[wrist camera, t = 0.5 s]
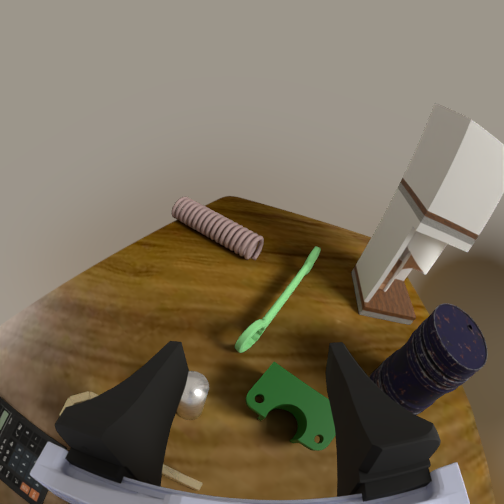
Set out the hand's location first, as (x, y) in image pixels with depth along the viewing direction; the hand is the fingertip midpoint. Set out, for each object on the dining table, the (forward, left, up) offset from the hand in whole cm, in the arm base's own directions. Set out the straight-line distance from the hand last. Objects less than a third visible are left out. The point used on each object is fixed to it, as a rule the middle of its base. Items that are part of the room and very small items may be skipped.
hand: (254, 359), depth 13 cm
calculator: (-12, +20, -20) cm, 31 cm away
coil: (+34, +9, -20) cm, 41 cm away
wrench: (+23, -5, -20) cm, 31 cm away
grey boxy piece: (+31, -24, -20) cm, 44 cm away
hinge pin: (+3, +3, -20) cm, 20 cm away
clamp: (+5, -8, -20) cm, 22 cm away
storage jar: (+11, -24, -20) cm, 33 cm away
